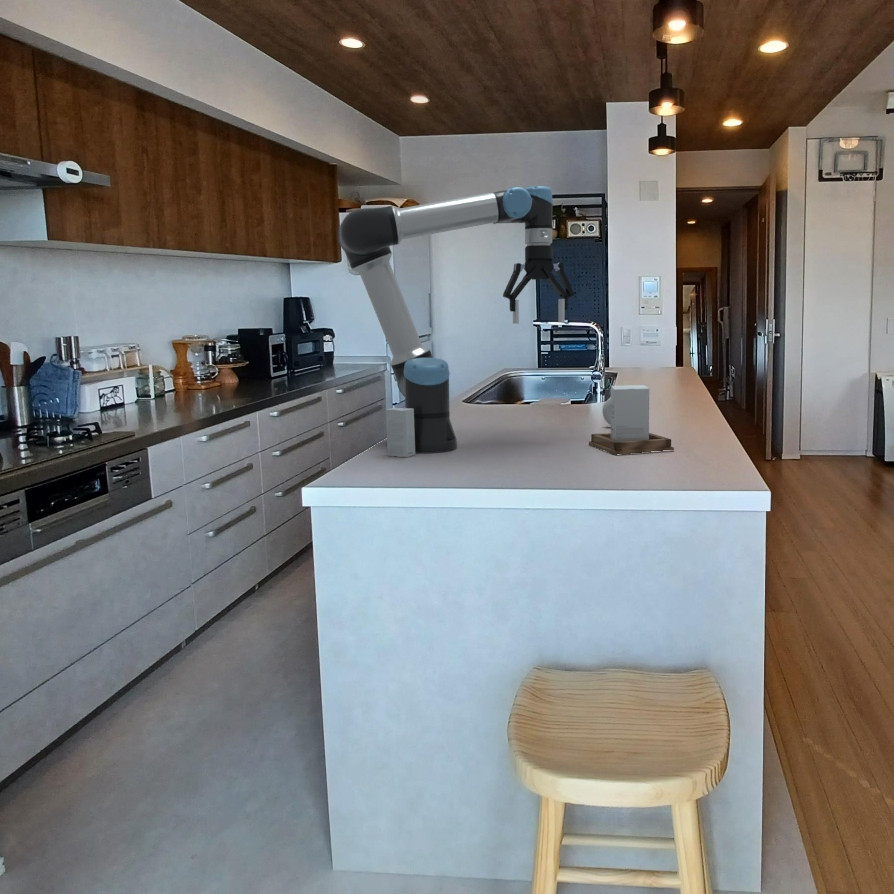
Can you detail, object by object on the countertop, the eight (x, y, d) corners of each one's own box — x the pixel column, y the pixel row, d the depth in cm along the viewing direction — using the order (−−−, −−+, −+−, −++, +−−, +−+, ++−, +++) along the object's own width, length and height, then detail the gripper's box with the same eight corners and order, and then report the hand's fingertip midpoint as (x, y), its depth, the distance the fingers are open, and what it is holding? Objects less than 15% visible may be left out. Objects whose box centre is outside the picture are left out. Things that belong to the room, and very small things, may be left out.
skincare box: (415, 455, 219) (414, 408, 217) (406, 458, 215) (405, 410, 213) (396, 453, 222) (394, 407, 220) (386, 456, 218) (385, 409, 216)
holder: (615, 455, 213) (615, 443, 212) (588, 445, 228) (588, 434, 228) (673, 451, 217) (674, 439, 216) (643, 441, 232) (643, 430, 232)
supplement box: (644, 441, 226) (645, 384, 224) (649, 447, 218) (650, 388, 215) (609, 441, 227) (610, 384, 225) (612, 447, 218) (613, 388, 216)
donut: (602, 428, 256) (602, 395, 255) (602, 426, 260) (602, 393, 258) (636, 428, 255) (637, 395, 253) (636, 427, 258) (636, 393, 256)
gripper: (499, 244, 231) (500, 324, 235) (586, 244, 237) (585, 322, 241) (491, 246, 238) (492, 323, 242) (575, 245, 244) (574, 321, 248)
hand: (538, 323), depth 241 cm, fingers open, 13 cm apart
